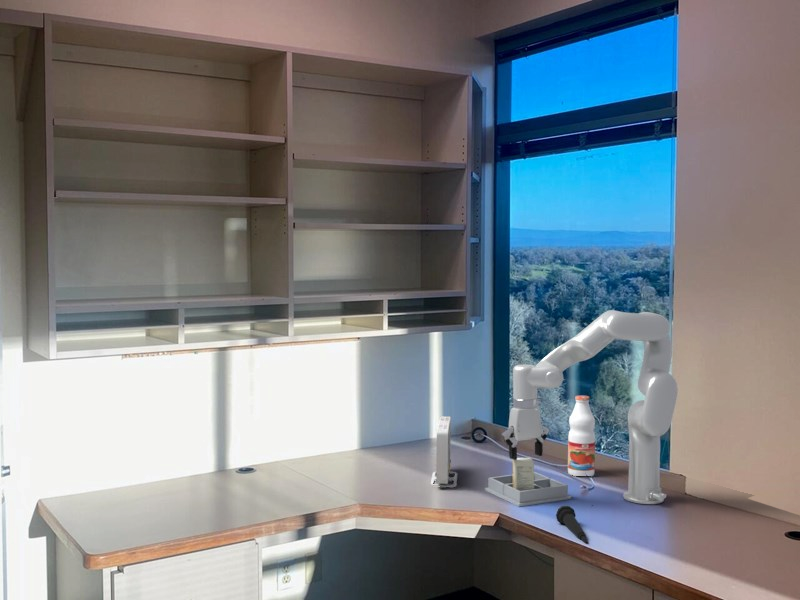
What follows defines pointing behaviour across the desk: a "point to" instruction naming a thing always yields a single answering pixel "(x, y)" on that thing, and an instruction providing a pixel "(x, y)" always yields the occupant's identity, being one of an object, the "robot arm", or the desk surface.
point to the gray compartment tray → (541, 493)
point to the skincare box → (523, 474)
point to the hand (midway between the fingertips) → (526, 457)
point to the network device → (443, 454)
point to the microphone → (570, 521)
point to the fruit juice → (581, 439)
